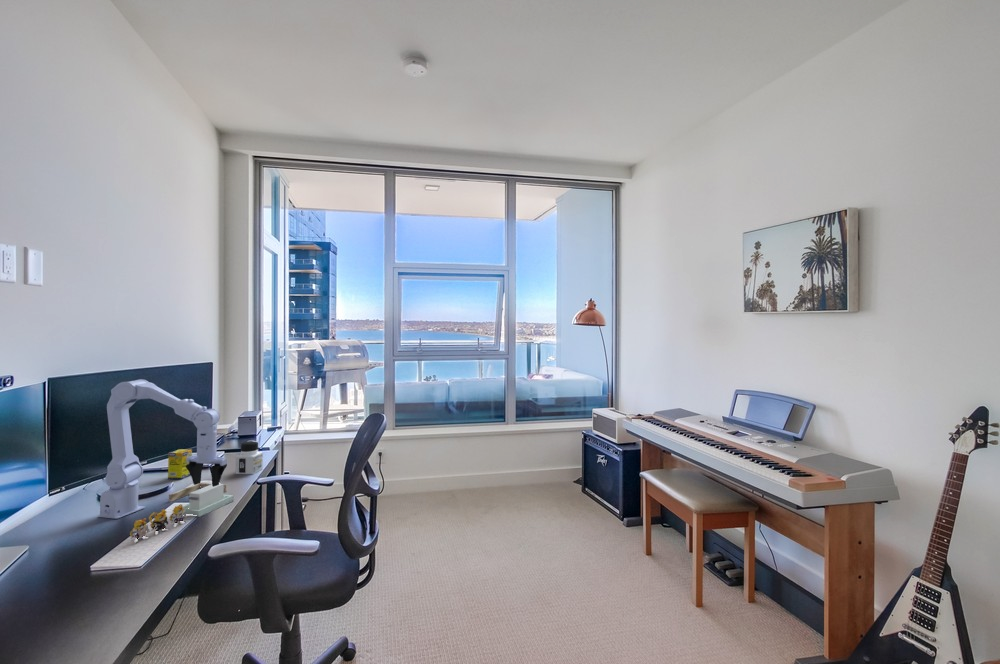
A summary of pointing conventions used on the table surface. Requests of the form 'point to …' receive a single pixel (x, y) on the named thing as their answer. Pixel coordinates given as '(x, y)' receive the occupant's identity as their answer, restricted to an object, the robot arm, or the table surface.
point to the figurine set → (157, 521)
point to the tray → (209, 508)
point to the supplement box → (178, 464)
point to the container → (249, 458)
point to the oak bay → (188, 491)
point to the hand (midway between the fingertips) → (206, 484)
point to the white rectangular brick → (205, 496)
